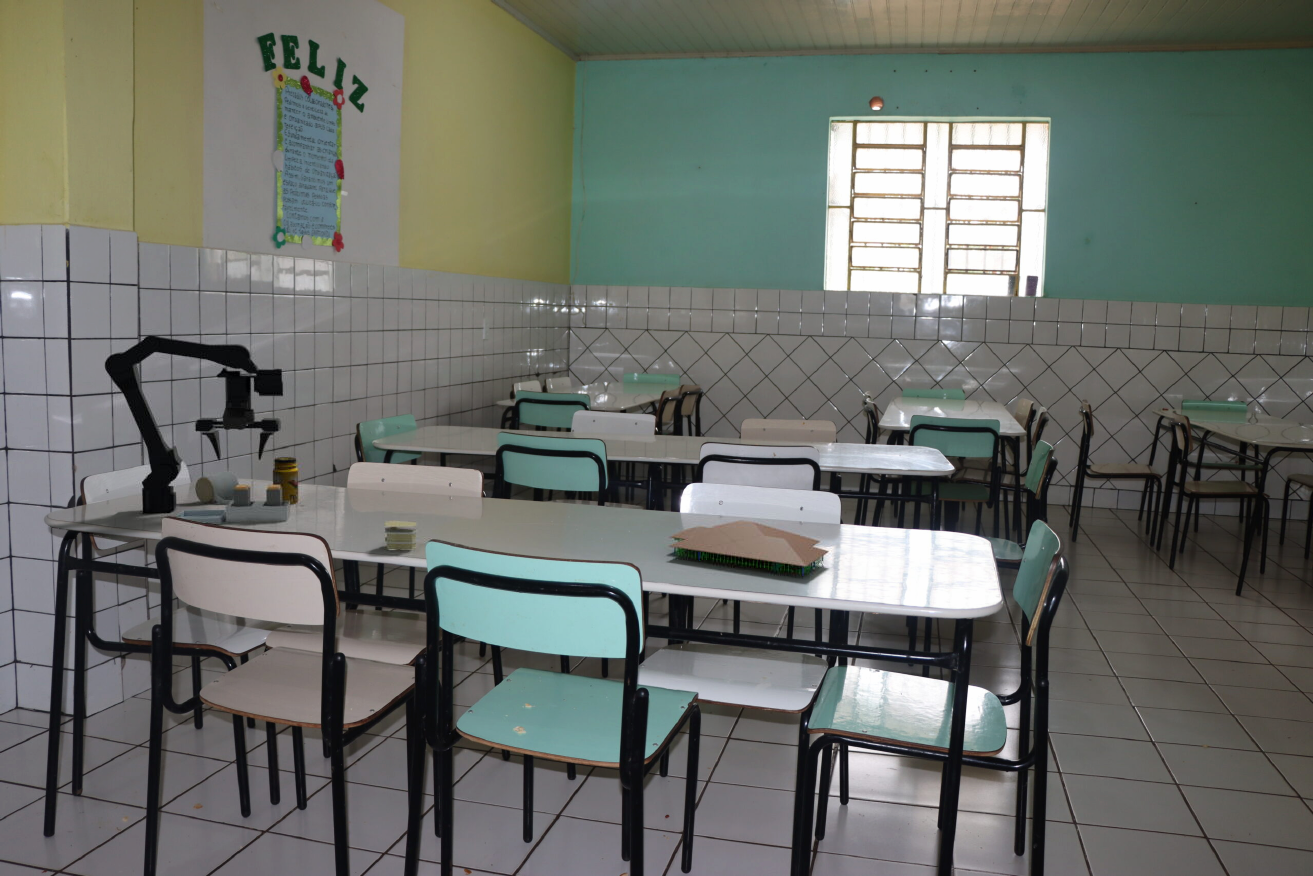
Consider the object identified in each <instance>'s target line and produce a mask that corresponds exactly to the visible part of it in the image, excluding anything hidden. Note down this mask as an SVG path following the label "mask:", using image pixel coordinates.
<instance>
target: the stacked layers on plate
mask: <svg viewBox="0 0 1313 876" xmlns="http://www.w3.org/2000/svg"><path fill="white" fill-rule="evenodd" d="M416 525H418V522H412V521H411V522H410V521H403V520H389V521H388V520H386V521H385V522H384V526H385V528H384V533H386V536H385V537H384V540H385V541H384V542H385V543H386V549H413V548H414V547H415V546H417V545H416V544H417V541H418V539H419V538H418V537H417V531H418V530H419V529H418V528H416V527H415V526H416ZM414 527H415V528H414ZM415 548H416V547H415ZM415 548H414V549H415ZM414 549H413V550H414Z"/></svg>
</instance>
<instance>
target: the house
mask: <svg viewBox="0 0 1313 876" xmlns="http://www.w3.org/2000/svg"><path fill="white" fill-rule="evenodd" d="M669 538H672V539H674V541H677V542H674V543H672V544H670V545H669V546H668V547H670V548H673V556H674V555H676V556H677V554H678V555H680V553H681V556H682V557H683V555H682V552H683V553H684V552H685V551H686V552H687V550H688V554H687V553H686V554H685V553H684V556H688V557H689V558H690V554H689V551H690V550H691V551H695V553H694V554H693V555H692V554H691V557H695V558H694V560H695V559H696V560H697V557H698V559H700V558H701V559H702V557H703V556H704V559H705V561H706V560H708V554H709V553H710V554H711V555H712V554H713V557H711V559H712V562H713V561H714V560H715V555H716V554H717V556H719V554H720V555H723V556H724V558H723V561H724V562H725V561H726V562H728V559H727V560H726V559H725V556H730V557H731V559H730V560H729V562H730V564H731V563H735V560H733V557H734V559H736V557H738V558H742V559H741V562H740V561H736V564H739V565H740V564H741V566H742V565H744V564H745V565H749V566H750V567H751V566H752V567H753V566H755V564H754V562H755V560H756V563H758V561H764V562H768V563H767V566H766V563H763V564H764V565H763V569H764V568H765V569H766V568H767V569H769V568H771V569H773V566H769V563H770V562H771V564H773V565H775V571H776V570H777V571H778V570H779V568H780V567H781V568H780V571H781V572H782V567H783V566H784V570H783V572H784V571H785V570H786V569H785V564H787V565H788V566H787V567H788V568H787V571H791V572H793V570H792V569H790V566H791V568H792V567H793V568H794V566H797V567H800V566H801V567H802V571H801V570H797V573H798V572H799V573H801V575H802V574H803V575H804V573H805V572H806V573H807V570H808V572H809V570H810V569H812V570H813V567H815V568H816V565H818V564H819V563H821V564H822V561H823V562H824V555H826V554H828V553H829V550H826V549H823V548H818V547H815V545H817V544H819V543H820V542H821V541H820V540H816V539H814V538H811V537H806V536H804V535H800V534H796V533H793V532H789V531H786V530H783V529H779V528H775V527H772V526H769V525H765V524H761V523H757V522H755V521H749V520H738V521H732V522H729V523H728V522H727V523H724V524H718V525H714V526H712V527H705V526H700V525H699V526H694V527H690V528H687V529H685V530H681V531H680V532H678V533H674V534H672V535H670V536H669ZM679 551H680V552H679ZM691 551H690V552H691ZM697 552H698V555H697ZM701 552H702V555H701ZM705 552H706V554H705ZM688 557H687V558H688ZM744 558H745V559H749V560H753V561H752V564H751V563H749V564H748V563H747V562H743V561H744ZM718 560H719V561H720V562H721V563H722V558H717V561H718ZM720 562H719V563H720ZM789 564H790V565H789ZM758 566H759V567H760V565H758V564H756V567H758ZM807 568H808V569H807ZM780 571H779V572H780Z"/></svg>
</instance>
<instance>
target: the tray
mask: <svg viewBox="0 0 1313 876" xmlns="http://www.w3.org/2000/svg"><path fill="white" fill-rule="evenodd" d="M176 516H177V517H183V518H184V519H188V520H192V521H198V522H205V523H213V524H212V525H218V524H220V525H221V524H222V523H223V522H224V521H225V520H226V509H193V510H192V509H183V510H181V511H180V512H179V513H178V514H177V515H176Z"/></svg>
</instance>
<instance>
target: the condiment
mask: <svg viewBox="0 0 1313 876" xmlns="http://www.w3.org/2000/svg"><path fill="white" fill-rule="evenodd" d="M273 461H274V464H273V466H274V467H273V470H272V485H280V486H281V487H282V501H290V506H291V505H295V504H298V502H299V469H298V468H297V458H296V457H293V456H292V457H291V456H290V457H289V456H282V457H275V459H274V460H273ZM304 505H305V504H304V503H300V504H299V507H301V506H302V507H303V506H304Z"/></svg>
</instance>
